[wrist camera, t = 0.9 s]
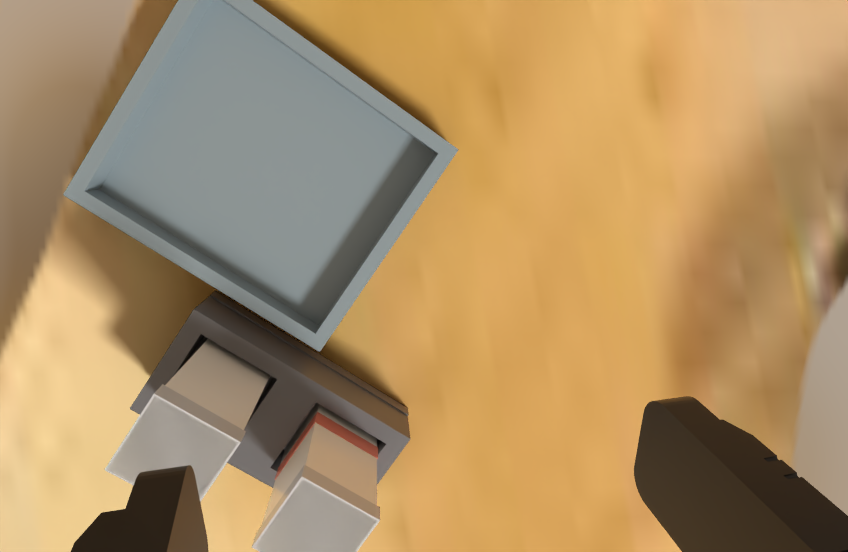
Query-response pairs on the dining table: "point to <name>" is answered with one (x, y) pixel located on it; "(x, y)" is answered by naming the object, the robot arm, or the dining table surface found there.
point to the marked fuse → (322, 489)
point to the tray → (259, 165)
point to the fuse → (193, 418)
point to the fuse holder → (281, 387)
